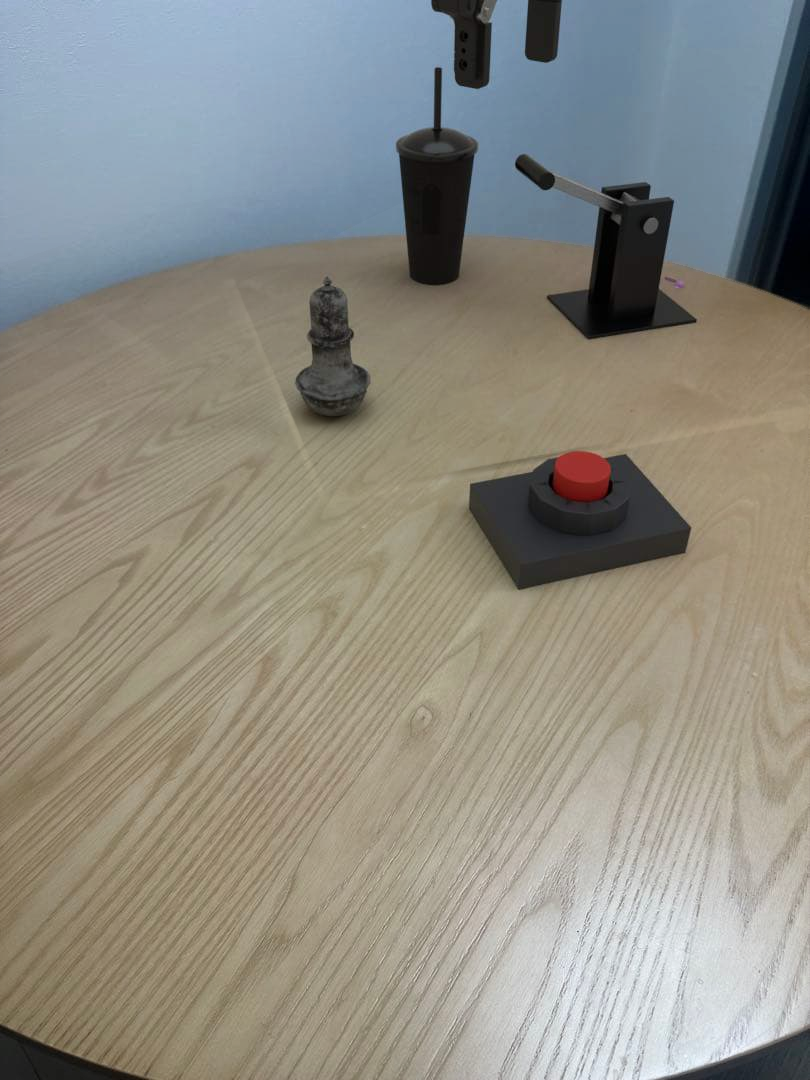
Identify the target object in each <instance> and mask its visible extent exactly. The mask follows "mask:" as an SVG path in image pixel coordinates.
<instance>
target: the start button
mask: <svg viewBox="0 0 810 1080" xmlns="http://www.w3.org/2000/svg"><path fill="white" fill-rule="evenodd" d="M558 457H559V458H558V459H557V460H556V462H555V468H554V476H553V489H554V491H555V493H556V494H557V495H559V496H561V497H563V498H565V499H567V500H569V501H576V502H584V503H588V502H593V501H598V500H601V499H602V498H603V497H604V496H605V495H606V494H607V491H608V485H609V478H610V472H611V468H610V465H609V463H608V462H607V461H606V460H605V459H604V458H605V457H603V456H601V455H599V454H596V453H595V452H591V451H585V450H576V451H575V450H574V451H567V452H565V453H563V454H561V455H560V456H558Z"/></svg>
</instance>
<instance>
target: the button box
mask: <svg viewBox="0 0 810 1080" xmlns="http://www.w3.org/2000/svg"><path fill="white" fill-rule="evenodd" d="M559 457H560V456H556V457H552V458H548V459H546V460H545V461H543V462H542V463H540V464H539V465H537V466H536V467H535V468H533V470H532V471H528V472H524V473H519V474H513V475H507V476H503V477H498V478H492V479H487V480H483V481H477V482H472V483H470V484H469V496H468V497H469V499H468V509H469V512H470V513H471V514H472V516H473V518H474V520H475V521H476V523H477V524H478V526H479V528H480V529H481V531H482V532H483V534H484V536H485V537H486V539H487V541H488V542H489V544H490V545H491V548H492V549H493V550H494V553H495V554H496V556H497V557H498V559H499V561H501V562H500V563H502V565H503V567H504V569H505V570H506V572H507V573H508V576H509V577H510V578H511V580H512V582H513V584H514V585H515V587H516V589H517V590H518V591H520V590H524V589H530V588H533V587H538V586H543V585H548V584H552V583H556V582H560V581H565V580H570V579H573V578H579V577H583V576H588V575H592V574H597V573H601V572H605V571H609V570H610V571H611V570H615V569H620V568H622V567H623V568H624V567H629V566H633V565H638V564H642V563H646V562H651V561H655V560H660V559H665V558H668V557H673V556H677V555H682V554H685V553H686V551H687V547H688V545H689V539H690V535H691V531H692V527H691V525H690V524H689V523H688V521H686V520H685V519H684V517H683V515H681V514H680V513H679V512H678V511H677V509H676V508H674V506H673V505H672V504H671V503H670V502H669V501H668V500H667V498H666V497H665V496H664V495H663V494H662V492H661V491H660V490H659V489H658V488H657V487H656V486H655V485H654V483H652V481H651V480H650V479H649V478H648V477H647V476H646V475H645V473H643V471H642V470H641V469H640V467H638V465H636V463H634V461H633V460H632V459H631V458H630V456H628V454H626V453H622V454H618V455H613V456H607V457H603V458H604V459H605V460H606V461H607V462H608V463H609V465H610V468H611V472H610V478H609V485H608V491H607V494H606V495H605V496H604V497H603V498H602V499H601V500H598V501H593V502H588V503H584V502H576V501H569V500H567V499H565V498H563V497H561V496H559V495H557V494H556V493H555V491H554V489H553V476H554V468H555V462H556V460H557V459H558V458H559Z"/></svg>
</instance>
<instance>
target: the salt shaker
mask: <svg viewBox="0 0 810 1080" xmlns="http://www.w3.org/2000/svg"><path fill="white" fill-rule="evenodd" d="M332 283H333V281H332V280H331V278H330V277H329V276H326V277H325V278H324V279H323V281H322V284H323V286H320V287H319V288H317V289H315V290H314V291H313V292H312V293H311V295H310V296H309V313H310V314H309V316H310V317H309V318H310V329H309V330H308V331H307V333H306V339H307V341H308V342H310V344H311V358H312V360H311V364H310V365H309V366H306V367H304V368H303V369H302V370H301V371H299V372H298V374H297V375H296V377H295V381H294V384H295V387H296V389H297V390H298V391H299V393H300V396H301V398H302V400H303V402H304V403H305V405H306V406H307V407H308V408H309V409H310V410H311V411H313V412H314V413H317V414H318V415H322V416H326V417H342V416H346V415H348V414H350V413H352V412H354V411H355V410H356V409H357V408H358V407H360V405H362V403H363V401H364V399H365V397H366V395H367V390H368V388H369V386H370V384H371V375H370V374H369V372H368V371H367V369H365V368H364V367H363V366H361V365H359V364H356V363H353V359H352V351H351V341H352V340H353V339H354V337H355V332H354V330H353V329H352V328H351V327H350V326H349V305H348V297H347V294H346V292H345V291H344V290H342V289H341V288H339V287H337V286H333V285H331V284H332Z"/></svg>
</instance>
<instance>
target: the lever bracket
mask: <svg viewBox="0 0 810 1080" xmlns="http://www.w3.org/2000/svg"><path fill="white" fill-rule="evenodd" d="M651 188H652V185H651V184H649V183H648V182H646V181H643V182H634V183H626V184H617V185H607V186H602V187H601V190H600V192H601V193H604V194H606V195H608V196H611V197H613V198H615V199H618V200H620V198H621V196H622V194H623V193H624V192H625V193H627V194H630V195H632V196H634V197H636V198H639V199H641V200H639V201H631V202H624V203H623V208H622V215H621V222H620V225H619V224H618V223H617V222H615V221H614V220H613V219H611V218H610V217H611V215H612V213H613V212H611V211H608V210H606V209H603V208H601V207H599V206H598V214H597V222H596V230H595V238H594V246H593V252H592V253H593V254H592V262H591V270H590V277H589V285H588V289H587V288H586V289H583V290H575V291H567V292H560V293H554V294H547V295H546V299H547V301H549V303H551V305H552V306H554V307H555V309H557V310H558V311H559V312H560V313H561V314H562V315H563V316H564V317H565V318H566V320H568V321H569V322H570V323H571V324H572V326H574V327H575V329H577V330H578V331H579V332H580V333H581V335H583V336H584V337H585V338H586V339H587V340H588V341H589V340H595V339H600V338H608V337H615V336H620V335H627V334H633V333H639V332H644V331H645V332H646V331H652V330H658V329H663V328H664V329H665V328H669V327H671V328H672V327H676V326H683V325H690V324H696V323H697V322H698V319H697V318H696V317H695V316H693V314H691V313H690V312H688V311H687V309H685V308H684V307H683V306H681V305H680V304H679V303H678V302H676V301H675V300H674V299H672V298H671V297H670V296H669V295H668V294H666V293H665V292H663V291H662V290H661V289H660V284H661V278H662V274H663V273H662V272H663V267H664V261H665V255H666V249H667V243H668V239H669V232H670V227H671V223H672V222H671V221H672V215H673V210H674V204H675V200H674V199H672V198H671V197H670V196H665V197H664V196H663V197H657V198H650V196H651Z"/></svg>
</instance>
